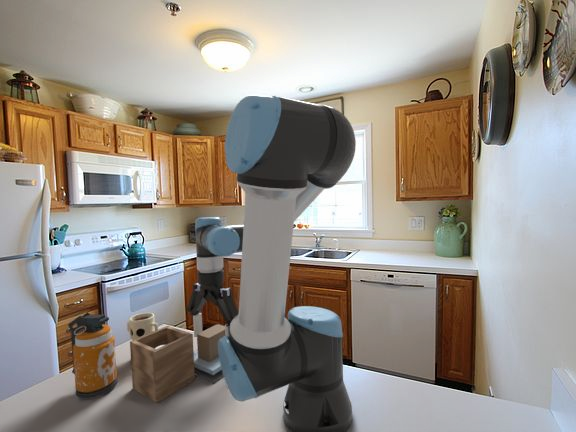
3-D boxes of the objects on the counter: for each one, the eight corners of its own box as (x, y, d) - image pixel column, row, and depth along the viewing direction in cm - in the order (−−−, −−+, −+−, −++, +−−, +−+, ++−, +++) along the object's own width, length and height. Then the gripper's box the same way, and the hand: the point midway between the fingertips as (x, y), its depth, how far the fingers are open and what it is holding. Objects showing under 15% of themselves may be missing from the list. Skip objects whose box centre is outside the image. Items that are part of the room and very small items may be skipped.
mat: (249, 358, 89) (249, 357, 89) (214, 383, 77) (214, 381, 77) (214, 346, 97) (214, 345, 97) (178, 367, 86) (178, 365, 86)
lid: (245, 357, 89) (244, 327, 89) (213, 379, 78) (211, 345, 78) (215, 346, 96) (214, 318, 96) (182, 366, 86) (180, 334, 85)
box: (194, 379, 80) (192, 334, 79) (157, 403, 70) (154, 352, 70) (169, 367, 86) (167, 325, 85) (132, 388, 76) (129, 341, 76)
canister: (97, 403, 71) (92, 322, 70) (60, 398, 73) (54, 320, 72) (125, 381, 80) (120, 308, 79) (90, 377, 82) (86, 307, 81)
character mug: (120, 361, 90) (118, 320, 89) (137, 350, 97) (135, 311, 96) (151, 365, 87) (149, 322, 87) (166, 353, 94) (164, 313, 94)
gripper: (251, 271, 82) (254, 345, 83) (193, 263, 96) (196, 327, 97) (232, 277, 76) (235, 357, 77) (173, 268, 90) (176, 336, 91)
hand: (213, 340), depth 87 cm, fingers open, 13 cm apart
